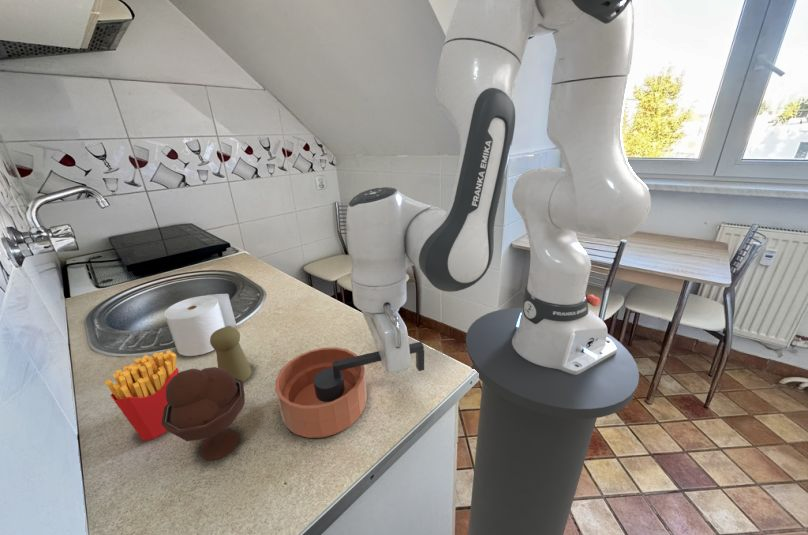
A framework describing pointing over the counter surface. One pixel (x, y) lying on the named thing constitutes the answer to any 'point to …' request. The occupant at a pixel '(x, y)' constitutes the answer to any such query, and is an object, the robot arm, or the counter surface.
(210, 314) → the toilet tissue
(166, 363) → the french fries
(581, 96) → the robot arm
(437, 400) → the counter surface
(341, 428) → the bowl
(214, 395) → the ice cream bowl
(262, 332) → the counter surface
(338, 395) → the ladle
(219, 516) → the counter surface
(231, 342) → the cork
